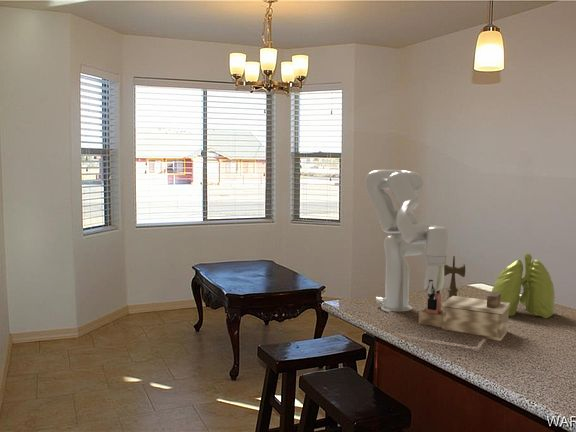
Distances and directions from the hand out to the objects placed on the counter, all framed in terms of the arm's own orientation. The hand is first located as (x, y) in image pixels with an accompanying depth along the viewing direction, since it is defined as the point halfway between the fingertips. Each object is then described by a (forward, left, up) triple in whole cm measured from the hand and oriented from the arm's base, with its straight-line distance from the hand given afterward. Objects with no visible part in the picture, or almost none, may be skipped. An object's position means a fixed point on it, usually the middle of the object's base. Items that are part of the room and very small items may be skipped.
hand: (433, 307), depth 214 cm
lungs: (+24, +38, -7) cm, 45 cm away
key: (0, 0, -5) cm, 5 cm away
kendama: (-5, +43, -7) cm, 44 cm away
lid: (+15, 0, +3) cm, 16 cm away
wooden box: (+11, 0, -6) cm, 12 cm away
